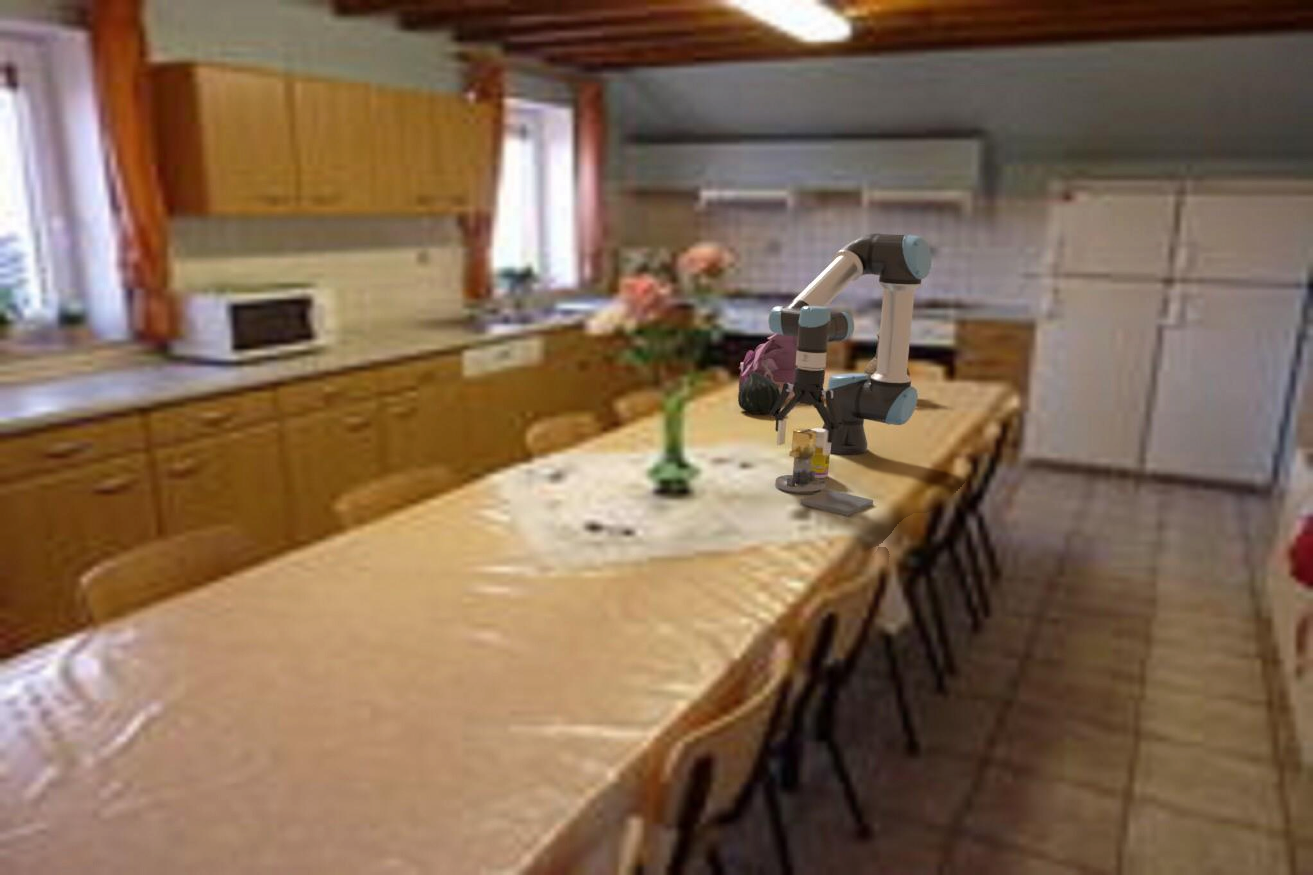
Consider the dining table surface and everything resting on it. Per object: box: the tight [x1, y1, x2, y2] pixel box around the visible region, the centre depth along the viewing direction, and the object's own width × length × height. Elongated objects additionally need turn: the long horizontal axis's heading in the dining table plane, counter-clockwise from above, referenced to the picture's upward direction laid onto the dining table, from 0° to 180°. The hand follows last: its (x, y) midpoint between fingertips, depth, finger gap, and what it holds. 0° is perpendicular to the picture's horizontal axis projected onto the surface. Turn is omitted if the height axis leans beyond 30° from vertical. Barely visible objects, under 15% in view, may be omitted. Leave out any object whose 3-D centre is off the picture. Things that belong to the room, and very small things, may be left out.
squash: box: [737, 372, 780, 415], centre depth 335 cm, size 14×15×15 cm
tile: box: [800, 488, 874, 517], centre depth 233 cm, size 13×13×1 cm
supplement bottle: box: [810, 427, 831, 479], centre depth 256 cm, size 7×7×13 cm
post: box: [774, 456, 827, 496], centre depth 245 cm, size 13×13×9 cm
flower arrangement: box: [738, 333, 798, 400], centre depth 368 cm, size 35×24×28 cm
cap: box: [788, 428, 817, 458], centre depth 243 cm, size 11×6×6 cm, turn 141°
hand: (803, 449), depth 243 cm, fingers open, 13 cm apart
